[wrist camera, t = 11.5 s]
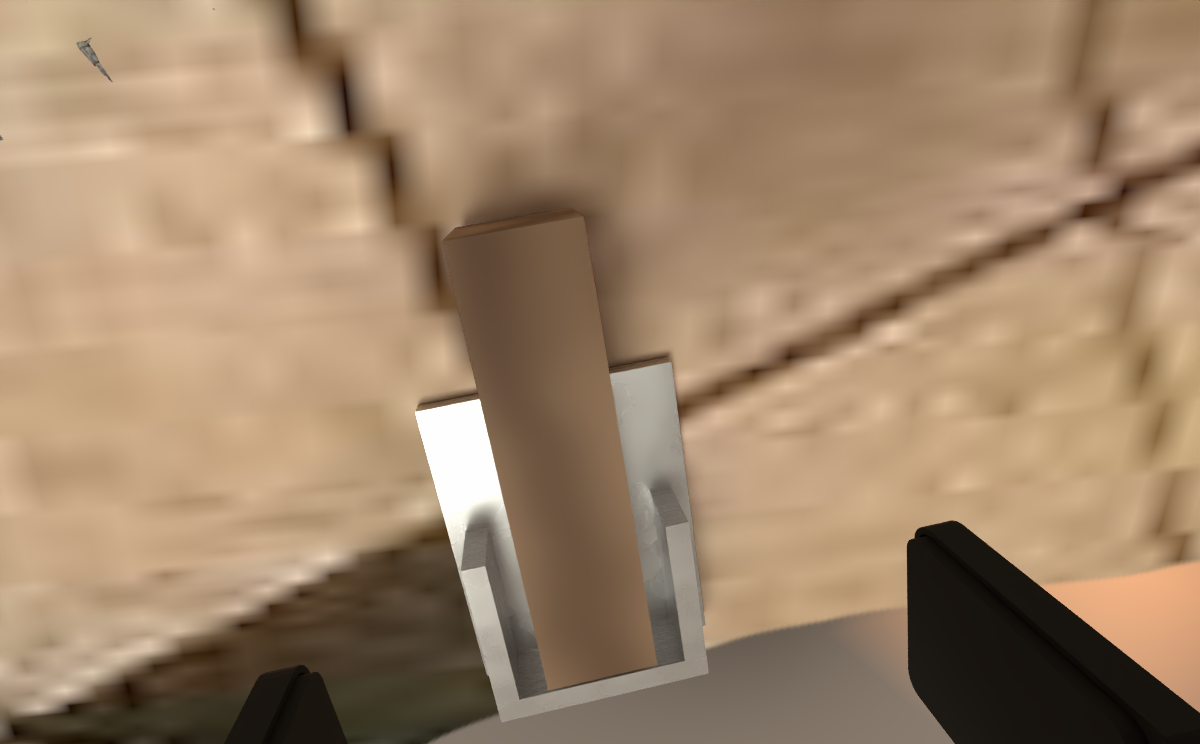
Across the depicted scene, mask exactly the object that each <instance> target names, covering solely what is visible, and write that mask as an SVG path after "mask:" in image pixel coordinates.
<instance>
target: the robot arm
mask: <svg viewBox="0 0 1200 744" xmlns="http://www.w3.org/2000/svg"><path fill="white" fill-rule="evenodd" d="M907 601H908V670H909V676H910V680H911V682H912V685H913V687H914V689H915V691H916V693H917V694H918V696H919V697H920V699H921V700H922V701H923V703H924V704H925V705H926V706H927V708H928V709H929V710H930V712H931V713H932V714H933V716H934V717H935V718H936V719H937V721H938V722H939V723H940V725H941V726H942V727H943V729H944V730H945V731H946V733H947V734H948V735H949V737H950V738H951V739H952V740H953V742H954V743H955V744H1200V713H1199V712H1198V711H1197V710H1195V709H1194V708H1193V707H1191V706H1190V705H1189V704H1188V703H1186V702H1185V701H1184V700H1183V699H1181V698H1180V697H1179V696H1178V695H1176V694H1175V693H1174V692H1173V691H1171V690H1170V689H1169V688H1168V687H1166V686H1165V685H1164V684H1162V683H1161V682H1160V681H1159V680H1158V679H1156V678H1155V677H1154V676H1152V675H1151V674H1150V673H1149V672H1147V671H1146V670H1145V669H1144V668H1142V667H1141V666H1140V665H1139V664H1137V663H1136V662H1135V661H1134V660H1132V659H1131V658H1130V657H1128V656H1127V655H1126V654H1125V653H1123V652H1122V651H1121V650H1120V649H1118V648H1117V647H1116V646H1115V645H1113V644H1112V643H1111V642H1110V641H1108V640H1107V639H1106V638H1104V637H1103V636H1102V635H1101V634H1100V633H1098V632H1097V631H1096V630H1095V629H1093V628H1092V627H1091V626H1090V625H1088V624H1087V623H1086V622H1084V621H1083V620H1082V619H1081V618H1079V617H1078V616H1077V615H1075V614H1074V613H1073V612H1072V611H1071V610H1069V609H1068V608H1067V607H1065V606H1064V605H1063V604H1062V603H1060V602H1059V601H1058V600H1057V599H1056V598H1054V597H1053V596H1052V595H1050V594H1049V593H1048V592H1047V591H1045V590H1044V589H1043V588H1042V587H1040V586H1039V585H1038V584H1037V583H1035V582H1034V581H1033V580H1032V579H1030V578H1029V577H1028V576H1027V575H1025V574H1024V573H1023V572H1022V571H1020V570H1019V569H1018V568H1017V567H1015V566H1014V565H1013V564H1011V563H1010V562H1009V561H1008V560H1006V559H1005V558H1004V557H1003V556H1001V555H1000V554H999V553H998V552H996V551H995V550H994V549H993V548H991V547H990V546H989V545H988V544H986V543H985V542H984V541H983V540H981V539H980V538H979V537H977V536H976V535H975V534H974V533H972V532H971V531H970V530H969V529H967V528H966V527H965V526H964V525H962V524H961V523H959V522H957V521H947V522H943V523H938V524H934V525H929V526H925V527H921V528H919V529H917V531H916V533H915V539H911V540H909V541H908V543H907ZM224 744H348V743H347V741H346V738H345V736H344V733H343V730H342V728H341V725H340V723H339V720H338V717H337V715H336V712H335V710H334V707H333V705H332V702H331V699H330V697H329V694H328V692H327V689H326V686H325V684H324V681H323V679H322V677H321V675H320V674H319V673H318V672H313V673H310V672H309V670H308V668H307V667H305V666H304V665H298V666H293V667H289V668H284V669H280V670H275V671H271V672H266V673H263V674H262V675H260V676H259V678H258V679H257V681H256V682H255V684H254V686H253V688H252V690H251V692H250V694H249V696H248V698H247V700H246V702H245V704H244V706H243V708H242V710H241V712H240V714H239V716H238V718H237V720H236V722H235V724H234V726H233V727H232V729H231V731H230V733H229V735H228V737H227V739H226V741H225V743H224Z"/></svg>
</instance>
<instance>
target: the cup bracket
mask: <svg viewBox="0 0 1200 744" xmlns="http://www.w3.org/2000/svg"><path fill="white" fill-rule="evenodd" d="M609 373H610V379H611V385H612V391H613V397H614V403H615V409H616V415H617V422H618V428H619V434H620V440H621V446H622V452H623V458H624V464H625V470H626V476H627V483H628V489H629V495H630V501H631V507H632V513H633V519H634V525H635V531H636V538H637V544H638V550H639V556H640V562H641V568H642V574H643V580H644V586H645V593H646V599H647V605H648V611H649V617H650V623H651V629H652V635H653V641H654V648H655V654H656V660H657V665H655V666H651V667H647V668H642V669H638V670H634V671H629V672H625V673H621V674H617V675H612V676H608V677H604V678H599V679H595V680H591V681H587V682H582V683H578V684H574V685H570V686H565V687H561V688H557V689H552V690H548V687H547V683H546V679H545V674H544V670H543V666H542V662H541V657H540V653H539V649H538V645H537V641H536V636H535V632H534V628H533V624H532V619H531V615H530V611H529V607H528V602H527V598H526V594H525V590H524V586H523V581H522V577H521V573H520V569H519V564H518V560H517V556H516V552H515V548H514V543H513V539H512V535H511V531H510V526H509V522H508V518H507V514H506V510H505V505H504V501H503V497H502V493H501V488H500V484H499V480H498V476H497V471H496V467H495V463H494V459H493V455H492V450H491V446H490V442H489V438H488V433H487V429H486V425H485V421H484V417H483V412H482V408H481V404H480V400H479V395H478V394H474V395H469V396H464V397H459V398H454V399H448V400H443V401H438V402H433V403H428V404H423V405H418V406H417V409H416V411H415V413H416V417H417V421H418V424H419V428H420V432H421V435H422V439H423V443H424V446H425V450H426V454H427V457H428V461H429V465H430V468H431V472H432V476H433V479H434V483H435V487H436V490H437V494H438V498H439V501H440V505H441V509H442V512H443V516H444V520H445V523H446V527H447V530H448V534H449V538H450V541H451V545H452V549H453V552H454V556H455V560H456V563H457V567H458V571H459V574H460V578H461V582H462V585H463V589H464V593H465V596H466V600H467V604H468V607H469V611H470V615H471V618H472V622H473V626H474V629H475V633H476V636H477V640H478V644H479V647H480V651H481V655H482V658H483V662H484V666H485V669H486V673H487V675H489V678H490V681H491V685H492V689H493V692H494V696H495V700H496V703H497V707H498V711H499V714H500V718H501V722H505V721H509V720H514V719H518V718H522V717H527V716H531V715H535V714H539V713H543V712H548V711H552V710H556V709H560V708H565V707H569V706H573V705H577V704H581V703H586V702H589V701H594V700H598V699H603V698H607V697H610V696H615V695H620V694H624V693H628V692H632V691H636V690H641V689H644V688H649V687H653V686H657V685H662V684H666V683H670V682H674V681H678V680H683V679H687V678H691V677H696V676H699V675H704V674H708V673H709V672H708V664H707V657H706V649H705V641H704V634H703V626H704V625H705V618H704V610H703V602H702V594H701V587H700V579H699V571H698V564H697V556H696V548H695V541H694V533H693V525H692V518H691V510H690V502H689V494H688V487H687V479H686V471H685V464H684V456H683V448H682V441H681V433H680V425H679V418H678V410H677V402H676V395H675V387H674V379H673V371H672V364H671V361H670V360H669V359H668V357H663V358H658V359H653V360H648V361H643V362H638V363H632V364H627V365H622V366H617V367H612V368H609Z"/></svg>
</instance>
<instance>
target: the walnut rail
mask: <svg viewBox="0 0 1200 744" xmlns="http://www.w3.org/2000/svg"><path fill="white" fill-rule="evenodd" d="M442 243H443V247H444V252H445V256H446V260H447V264H448V269H449V273H450V277H451V281H452V286H453V290H454V294H455V298H456V302H457V307H458V311H459V315H460V319H461V324H462V328H463V332H464V336H465V340H466V345H467V349H468V353H469V357H470V362H471V366H472V370H473V374H474V378H475V383H476V387H477V391H478V395H479V400H480V404H481V408H482V412H483V417H484V421H485V425H486V429H487V433H488V438H489V442H490V446H491V450H492V455H493V459H494V463H495V467H496V471H497V476H498V480H499V484H500V488H501V493H502V497H503V501H504V505H505V510H506V514H507V518H508V522H509V526H510V531H511V535H512V539H513V543H514V548H515V552H516V556H517V560H518V564H519V569H520V573H521V577H522V581H523V586H524V590H525V594H526V598H527V602H528V607H529V611H530V615H531V619H532V624H533V628H534V632H535V636H536V641H537V645H538V649H539V653H540V657H541V662H542V666H543V670H544V674H545V679H546V683H547V687H548V690H552V689H557V688H561V687H565V686H570V685H574V684H578V683H582V682H587V681H591V680H595V679H599V678H604V677H608V676H612V675H617V674H621V673H625V672H629V671H634V670H638V669H642V668H647V667H651V666H655V665H657V660H656V654H655V648H654V641H653V635H652V629H651V623H650V617H649V611H648V605H647V599H646V593H645V586H644V580H643V574H642V568H641V562H640V556H639V550H638V544H637V538H636V531H635V525H634V519H633V513H632V507H631V501H630V495H629V489H628V483H627V476H626V470H625V464H624V458H623V452H622V446H621V440H620V434H619V428H618V422H617V415H616V409H615V403H614V397H613V391H612V385H611V379H610V373H609V367H608V360H607V354H606V348H605V342H604V336H603V330H602V324H601V318H600V312H599V305H598V299H597V293H596V287H595V281H594V275H593V269H592V263H591V257H590V250H589V244H588V238H587V232H586V226H585V220H584V216H582V215H581V214H579V213H578V212H576V211H574V210H573V209H571V208H566V209H560V210H555V211H549V212H543V213H537V214H532V215H526V216H520V217H514V218H509V219H503V220H497V221H491V222H486V223H480V224H474V225H469V226H463V227H457V228H455V229H454V230H453V231H452V232H451V233H450V234H449V235H448V236H447V237H446V238H445V239H444V240H443V241H442Z"/></svg>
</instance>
